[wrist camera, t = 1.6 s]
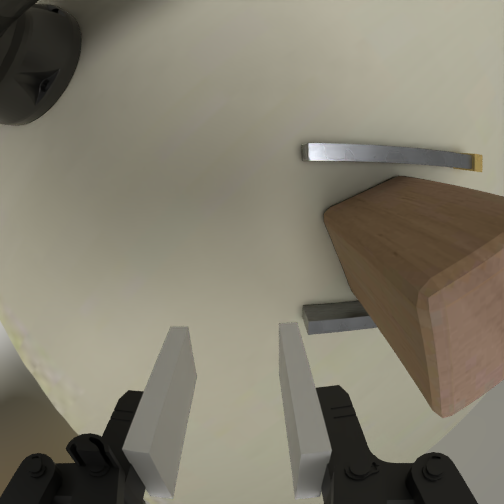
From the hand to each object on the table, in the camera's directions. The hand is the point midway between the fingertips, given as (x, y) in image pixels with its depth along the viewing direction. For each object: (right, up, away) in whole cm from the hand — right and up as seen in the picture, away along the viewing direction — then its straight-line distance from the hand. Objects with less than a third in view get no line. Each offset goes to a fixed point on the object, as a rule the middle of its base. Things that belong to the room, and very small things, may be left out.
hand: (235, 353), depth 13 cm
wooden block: (+14, +6, +18) cm, 23 cm away
